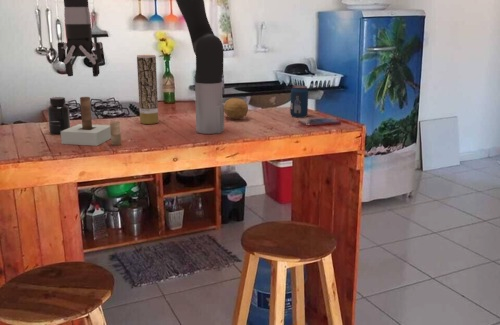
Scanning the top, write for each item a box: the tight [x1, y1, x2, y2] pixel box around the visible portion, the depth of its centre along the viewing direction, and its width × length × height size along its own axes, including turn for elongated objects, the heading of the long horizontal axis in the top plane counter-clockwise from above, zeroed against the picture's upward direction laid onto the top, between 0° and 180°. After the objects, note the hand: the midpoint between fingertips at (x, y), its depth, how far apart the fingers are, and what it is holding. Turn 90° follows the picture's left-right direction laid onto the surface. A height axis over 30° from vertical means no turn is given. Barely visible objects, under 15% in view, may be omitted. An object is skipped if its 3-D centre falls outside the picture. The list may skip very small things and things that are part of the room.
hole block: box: [60, 123, 111, 147], centre depth 170 cm, size 12×12×4 cm
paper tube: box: [136, 54, 159, 125], centre depth 195 cm, size 7×7×25 cm
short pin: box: [109, 121, 122, 146], centre depth 164 cm, size 3×3×7 cm
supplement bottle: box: [47, 96, 71, 135], centre depth 180 cm, size 7×7×12 cm
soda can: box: [289, 85, 309, 119], centre depth 211 cm, size 7×7×12 cm
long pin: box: [79, 96, 93, 130], centre depth 168 cm, size 3×3×14 cm
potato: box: [223, 97, 249, 120], centre depth 206 cm, size 10×14×8 cm
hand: (83, 76), depth 165 cm, fingers open, 8 cm apart
